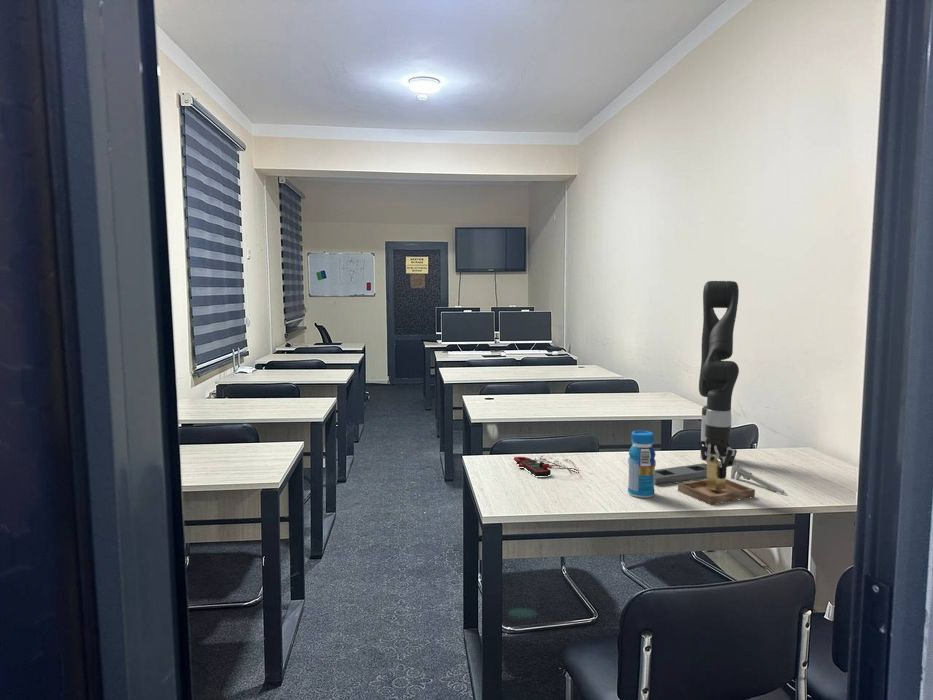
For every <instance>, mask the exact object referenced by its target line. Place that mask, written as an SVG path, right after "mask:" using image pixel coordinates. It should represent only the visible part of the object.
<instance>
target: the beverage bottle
mask: <svg viewBox="0 0 933 700" xmlns="http://www.w3.org/2000/svg"><path fill="white" fill-rule="evenodd" d="M630 439H631V443H632V445H631V446H630V448H629V450H628V455H629V457H628V460H627V463H628V487H627V494H629V495H630V496H632V497H635V498H640V499H642V498H643V499H645V498H647V499H648V498H652V497H653V496H655V485H654V476H655V470H656V469H655V468H656V465H657V462H656V459H655V457H656V451H655V449H654V447H653V445H654V439H655V437H654V433H653V432H652V431H648V430H633V431H632V432H631V438H630Z"/></svg>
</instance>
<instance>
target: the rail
mask: <svg viewBox="0 0 933 700" xmlns="http://www.w3.org/2000/svg"><path fill="white" fill-rule="evenodd" d="M704 478H705V479H706V478H707V463H705V462H704V463H695V464H688V465H681V466H673V467H667V468H666V467H665V468H661V469H660V468H659V469H655V476H654V487H655V486H657V487H658V486H662V485H670V483H671V484H676V482H678V483H684V482H683V481H685V482H691V481H698V480H705V479H704ZM697 479H698V480H697ZM690 480H691V481H690Z"/></svg>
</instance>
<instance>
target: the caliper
mask: <svg viewBox="0 0 933 700" xmlns="http://www.w3.org/2000/svg"><path fill="white" fill-rule="evenodd" d="M740 465H741V463H738V462H737V461H736V462H735V461H734V463H733V465H732V466H731V467H732V468H731V469H730V472H731V473H730V478H731V479H732V478H733V479H736V480H735V481H738V480H737V479H740V478H741V477H742V478H743V479H745V480H746V481H750V480H751V481H754V482H756V483H757V484H760V485H761V486H763V487H765V488H767V489H769V490H771V491H772V490H773V491H772V492H774V491H776V492H779V493H782V494H781V495H783V494H785V495H786V494H787V492H785V490H784V489H782V488H780V487H777V486H776V485H774V484H772V483H770V482H768V481H767V480H764V479H762V478H760V477H759V476H756V475H754V474H753V472H751V471H749V470H747V469H745V468H744V467H741V466H740ZM776 492H775V493H776ZM779 493H778V494H779ZM785 495H784V496H785ZM786 496H787V495H786Z"/></svg>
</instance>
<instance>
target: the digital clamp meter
mask: <svg viewBox="0 0 933 700" xmlns="http://www.w3.org/2000/svg"><path fill="white" fill-rule="evenodd" d="M543 456H544V455H540V457H539V458H540V459H536V458H534V459H532V458H530V457H525V456H514V457H513V461H514V460H515V461H516V462H517V464H519V467H524V468H526V469H527V470H528V471H530V472H531V473H532V474H534V475H535V476H548V475H550V474H551V473H552V472H551V469H557V470H563V469H564V470H568V472H570V474H572V473H575V472H574V471H573V470H571V469H574V470H576V471H578V473H577V472H576V473H575V474H580V472H579V471H580V470H578V469H576V468H572V467H571V468H568V467H566V466H564V465H563V466H562V465H560V464H557V463H559V462H560V461H558V460H556V462H557V463H555V462H552V461H550V460H546V458H544V457H543ZM542 458H543V459H542ZM565 459H566V458H565ZM568 460H569V462H571V463H572V465H575V463H574V462H573V461H572V460H570V459H566V460H565V461H568ZM517 464H516V465H517ZM558 466H559V467H558ZM519 467H518V468H519ZM560 467H561V468H560ZM532 474H531V475H532ZM535 476H534V477H535Z"/></svg>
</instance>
